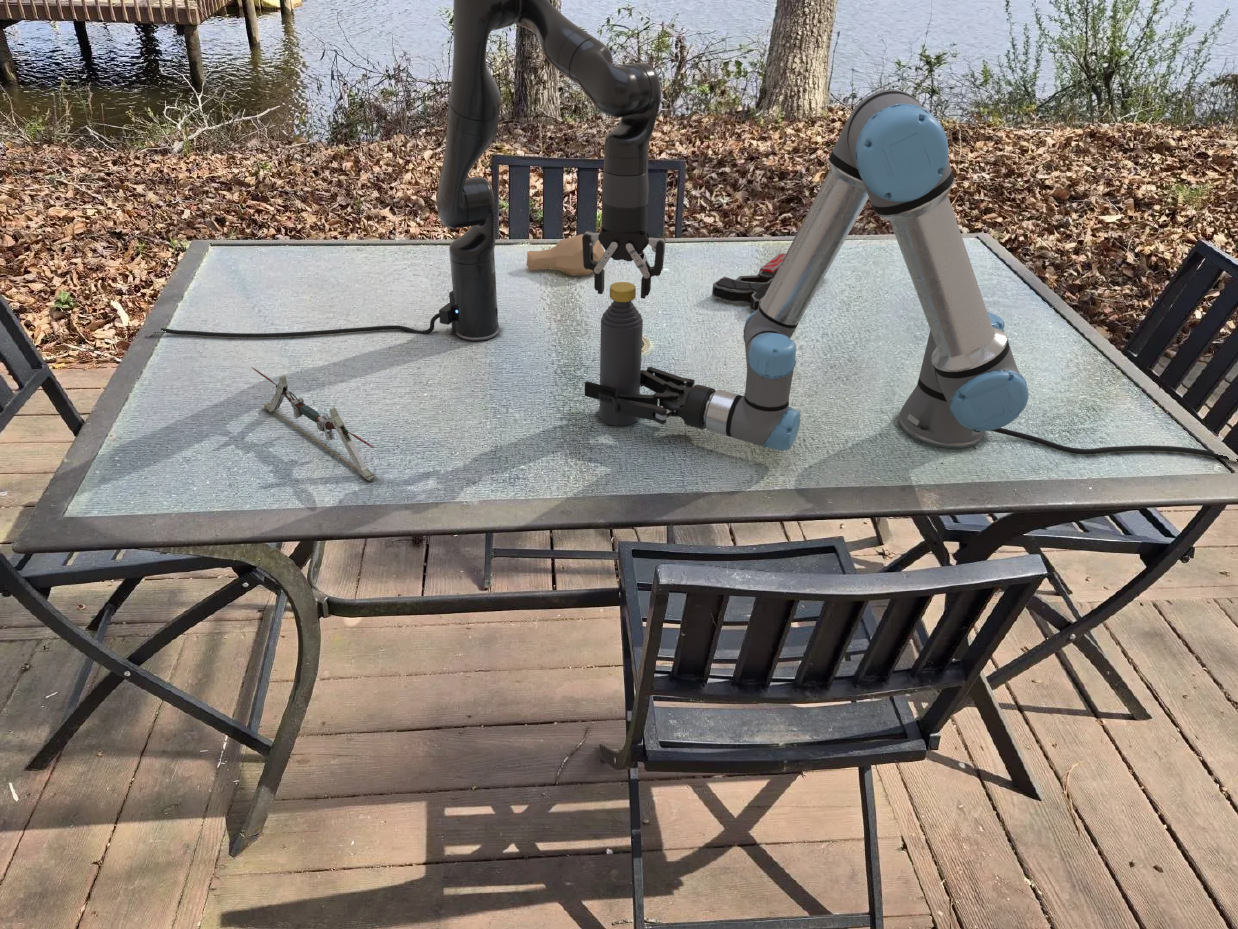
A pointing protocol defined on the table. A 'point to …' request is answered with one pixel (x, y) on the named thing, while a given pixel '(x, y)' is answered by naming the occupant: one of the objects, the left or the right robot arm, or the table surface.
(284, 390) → the bow
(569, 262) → the squash
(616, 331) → the bottle
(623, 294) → the cap
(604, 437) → the table surface
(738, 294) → the gun
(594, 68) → the left robot arm
